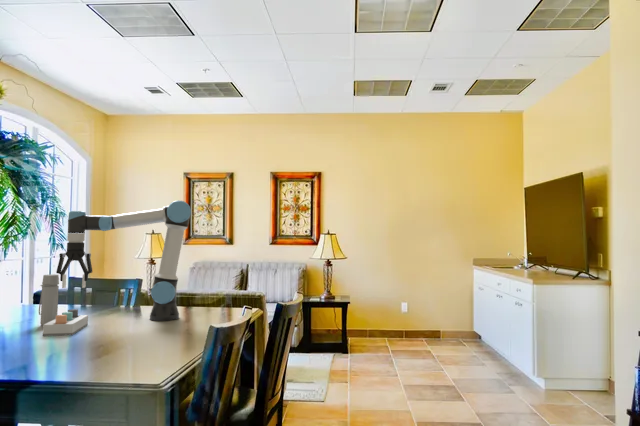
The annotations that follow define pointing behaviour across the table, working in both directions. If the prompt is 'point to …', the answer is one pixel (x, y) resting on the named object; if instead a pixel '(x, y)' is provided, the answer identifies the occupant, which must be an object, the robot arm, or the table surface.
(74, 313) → the button charcoal
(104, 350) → the table surface
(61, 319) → the button terracotta
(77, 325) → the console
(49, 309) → the water bottle
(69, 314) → the button teal
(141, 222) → the robot arm
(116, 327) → the table surface
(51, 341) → the table surface
